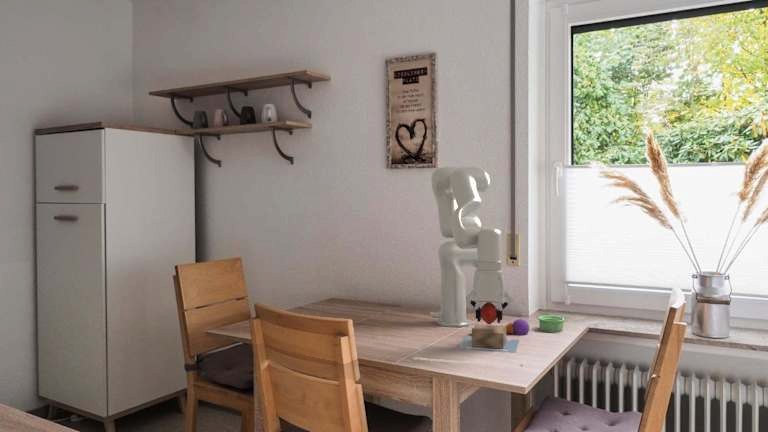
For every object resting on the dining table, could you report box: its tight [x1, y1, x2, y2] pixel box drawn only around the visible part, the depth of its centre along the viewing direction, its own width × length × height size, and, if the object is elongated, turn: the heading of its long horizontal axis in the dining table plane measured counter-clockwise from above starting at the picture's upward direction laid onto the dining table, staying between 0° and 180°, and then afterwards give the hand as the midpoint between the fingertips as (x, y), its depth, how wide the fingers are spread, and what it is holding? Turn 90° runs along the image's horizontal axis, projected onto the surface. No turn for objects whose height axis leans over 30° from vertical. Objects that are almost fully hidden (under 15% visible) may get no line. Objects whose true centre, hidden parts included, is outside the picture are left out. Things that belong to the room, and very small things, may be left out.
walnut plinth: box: [471, 324, 507, 349], centre depth 189 cm, size 10×10×5 cm
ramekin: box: [538, 315, 565, 333], centre depth 211 cm, size 9×9×4 cm
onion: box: [480, 302, 498, 325], centre depth 189 cm, size 6×6×8 cm
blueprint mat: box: [457, 336, 520, 354], centre depth 189 cm, size 18×16×1 cm
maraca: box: [471, 318, 530, 336], centre depth 202 cm, size 6×6×20 cm
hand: (489, 320), depth 189 cm, fingers closed on onion, 5 cm apart
